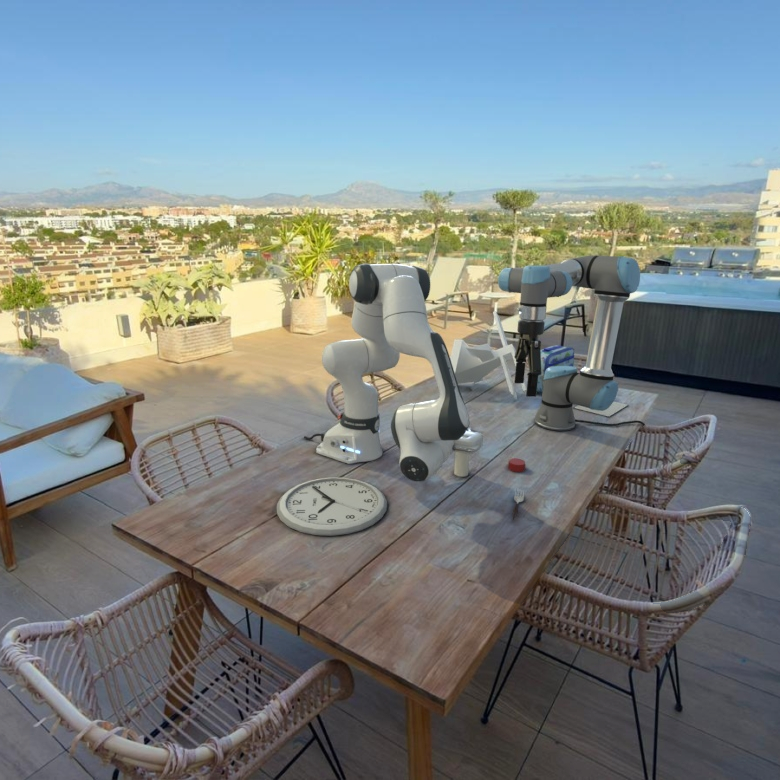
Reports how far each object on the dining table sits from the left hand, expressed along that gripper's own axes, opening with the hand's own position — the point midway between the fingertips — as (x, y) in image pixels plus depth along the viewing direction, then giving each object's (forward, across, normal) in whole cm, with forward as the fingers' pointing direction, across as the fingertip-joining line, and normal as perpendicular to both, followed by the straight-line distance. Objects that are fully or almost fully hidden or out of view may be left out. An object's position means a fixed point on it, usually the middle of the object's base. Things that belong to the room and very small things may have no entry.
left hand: (452, 427), depth 146 cm
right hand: (+24, -15, -6) cm, 29 cm away
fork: (-1, -20, +20) cm, 28 cm away
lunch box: (+116, -13, +20) cm, 118 cm away
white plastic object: (+98, +16, +20) cm, 101 cm away
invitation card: (+101, -36, +20) cm, 109 cm away
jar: (+13, 0, +20) cm, 24 cm away
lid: (+24, -15, +18) cm, 33 cm away
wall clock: (-22, +26, +20) cm, 39 cm away
